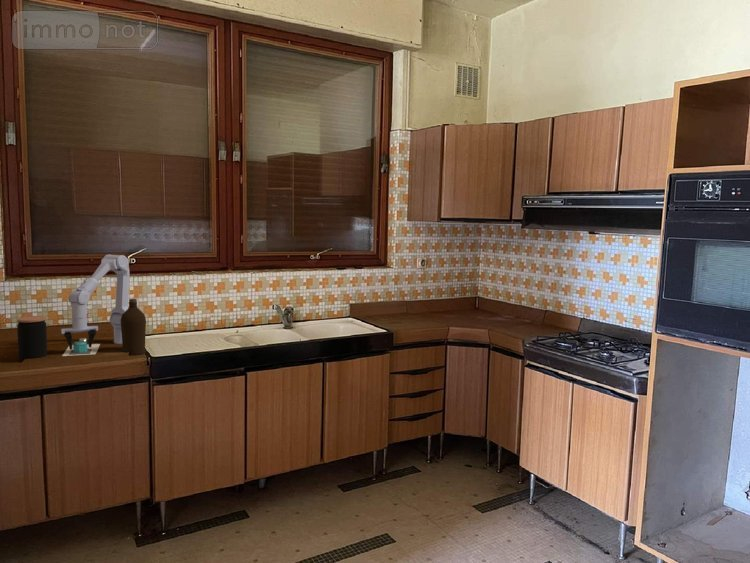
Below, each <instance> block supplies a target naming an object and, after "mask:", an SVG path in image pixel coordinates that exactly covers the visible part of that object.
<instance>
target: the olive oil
mask: <svg viewBox="0 0 750 563" xmlns="http://www.w3.org/2000/svg"><path fill="white" fill-rule="evenodd" d="M137 301H138V299H137V298H128V309H127V310H126V311H125V312H124V313H122V314H123V315H122V317H121V332H122V344H121V346H122V352H124V353H128V356H139V355H143V354H145V353H146V332H147V331H146V330H147V318H146V315H145V314H144V312H143V311H142V310H141V309H139V308H138V302H137Z"/></svg>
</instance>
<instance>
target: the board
mask: <svg viewBox="0 0 750 563" xmlns="http://www.w3.org/2000/svg"><path fill="white" fill-rule="evenodd" d="M73 345H74V344H72V349H71V350H74V347H73ZM100 345H101V343H92V346H91V347H89V343H87V349H92V350H91V352H90V354H76V355H69V353H70V352H71V350H70V348H69V346H68V347H67V348H66V350H65V351H64V353H63V354H62V357H67V356H70V357H71V356H73V357H75V356H87V355H88V356H89V355H91V356H92V355H96V354H97V352H98V350H99V348H100Z"/></svg>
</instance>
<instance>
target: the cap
mask: <svg viewBox="0 0 750 563" xmlns="http://www.w3.org/2000/svg"><path fill="white" fill-rule="evenodd" d="M87 344H88V341H87V342H86V341H80V340H79V341H75V342H73V344H72V345H73V347H74V352H75V353H81V352H86V351H87Z"/></svg>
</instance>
